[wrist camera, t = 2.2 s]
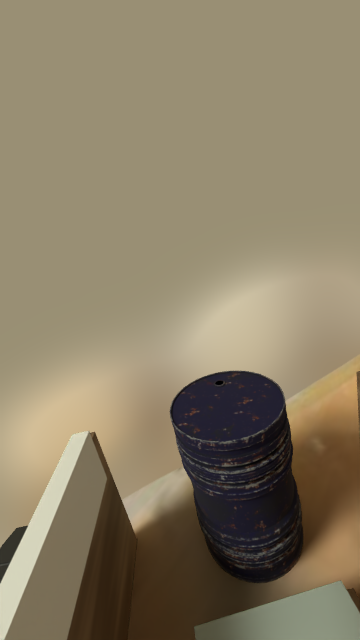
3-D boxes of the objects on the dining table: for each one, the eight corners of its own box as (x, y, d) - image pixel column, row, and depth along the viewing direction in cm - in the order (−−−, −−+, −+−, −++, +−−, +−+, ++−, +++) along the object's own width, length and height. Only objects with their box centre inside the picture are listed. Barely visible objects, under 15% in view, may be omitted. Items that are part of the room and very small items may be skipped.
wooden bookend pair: (380, 485, 28) (378, 366, 24) (712, 870, 11) (897, 684, 7) (118, 543, 29) (73, 436, 25) (48, 991, 12) (-136, 885, 8)
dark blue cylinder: (326, 574, 23) (310, 427, 18) (209, 595, 23) (167, 456, 19) (281, 474, 32) (263, 361, 28) (199, 490, 33) (169, 382, 28)
